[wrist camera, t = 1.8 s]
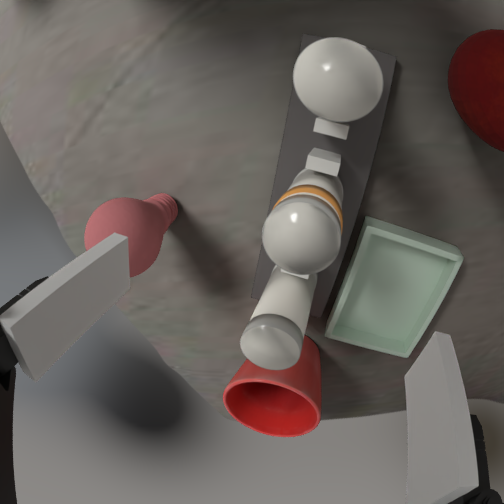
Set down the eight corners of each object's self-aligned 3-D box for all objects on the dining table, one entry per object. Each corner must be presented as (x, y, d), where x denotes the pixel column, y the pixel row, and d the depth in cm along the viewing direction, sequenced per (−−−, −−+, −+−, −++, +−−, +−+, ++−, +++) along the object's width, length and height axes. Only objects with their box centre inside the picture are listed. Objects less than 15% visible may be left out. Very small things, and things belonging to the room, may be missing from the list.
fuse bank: (304, 36, 22) (294, 20, 17) (394, 58, 20) (406, 46, 16) (253, 292, 35) (237, 322, 30) (321, 312, 34) (315, 346, 29)
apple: (415, 104, 22) (452, 104, 13) (451, 22, 17) (495, -9, 8) (494, 162, 21) (550, 192, 12) (528, 84, 16) (589, 85, 7)
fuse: (278, 248, 30) (244, 317, 21) (323, 261, 30) (307, 337, 20) (270, 285, 33) (236, 359, 23) (311, 297, 32) (291, 376, 22)
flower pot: (250, 373, 41) (227, 428, 33) (245, 313, 37) (215, 371, 28) (325, 384, 39) (314, 444, 30) (335, 323, 34) (326, 389, 25)
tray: (365, 215, 27) (367, 225, 25) (456, 246, 26) (464, 257, 24) (326, 322, 34) (324, 336, 32) (405, 343, 32) (407, 358, 30)
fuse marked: (298, 158, 26) (269, 190, 17) (349, 172, 25) (352, 213, 16) (288, 206, 28) (254, 262, 19) (336, 220, 27) (328, 284, 18)
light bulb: (209, 199, 31) (142, 250, 21) (182, 248, 35) (120, 308, 25) (156, 163, 31) (76, 197, 21) (135, 213, 35) (64, 259, 25)
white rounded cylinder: (318, 60, 22) (301, 29, 12) (371, 73, 21) (390, 50, 11) (309, 109, 24) (285, 110, 14) (361, 123, 23) (373, 133, 14)
